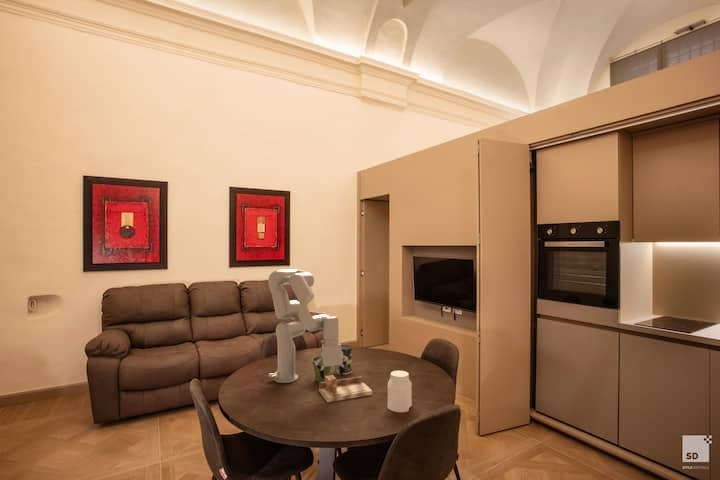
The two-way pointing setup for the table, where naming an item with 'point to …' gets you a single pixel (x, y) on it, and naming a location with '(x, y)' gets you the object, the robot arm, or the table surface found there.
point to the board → (346, 389)
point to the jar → (399, 392)
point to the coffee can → (348, 366)
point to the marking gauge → (331, 384)
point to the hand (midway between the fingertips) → (331, 376)
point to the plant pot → (317, 370)
